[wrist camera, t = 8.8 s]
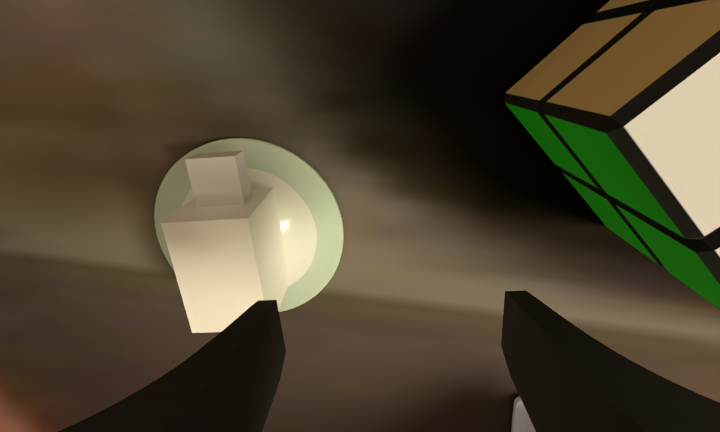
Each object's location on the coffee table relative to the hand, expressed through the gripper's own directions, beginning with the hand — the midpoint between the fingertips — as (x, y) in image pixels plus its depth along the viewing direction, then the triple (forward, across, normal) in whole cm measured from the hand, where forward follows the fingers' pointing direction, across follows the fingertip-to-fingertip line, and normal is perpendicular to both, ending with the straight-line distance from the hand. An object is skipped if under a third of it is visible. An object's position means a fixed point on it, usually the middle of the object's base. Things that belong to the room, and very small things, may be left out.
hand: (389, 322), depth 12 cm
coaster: (+10, +8, +1) cm, 13 cm away
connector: (+10, +8, 0) cm, 13 cm away
